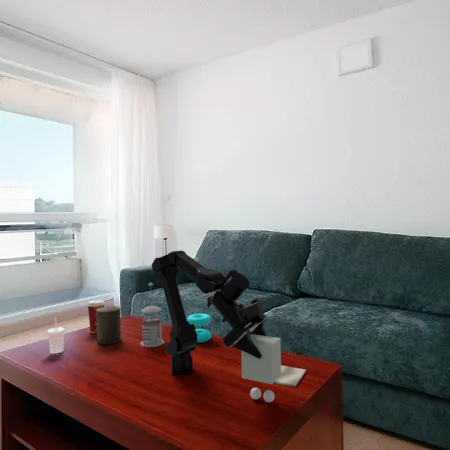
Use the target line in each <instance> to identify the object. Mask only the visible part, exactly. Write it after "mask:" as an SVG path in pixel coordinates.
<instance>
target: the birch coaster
mask: <svg viewBox="0 0 450 450" xmlns="http://www.w3.org/2000/svg"><path fill="white" fill-rule="evenodd" d="M306 371H307V369H305V368H304V369H303V368H298V367H292V366H289V365H288V366H287V365H282V364H281V374H280V375H279V377H278V378H277V379H276V380H275V382H274V383H273V384H277V385H283V386H288V387H292V388H296V387H297V386H298V385H299V383H300V381H301V380H302V378H303V376H304V375H305V374H306Z"/></svg>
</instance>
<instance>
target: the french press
mask: <svg viewBox="0 0 450 450" xmlns="http://www.w3.org/2000/svg"><path fill="white" fill-rule="evenodd" d="M147 286H148V287H149V288H150V289H149V290H150V291H152V286H154V284H153V282H149V283H148V285H147ZM161 310H162V308H161V307H160V306H155V305H150V306H149V305H148V306H145V307H144V308H143V309H141V313H142V314H146V315H148V314H150V317H146V318H143V320H142V321H143V323H141V330H142V331H141V332H142V334H141V335H142V336H141V338H142V341H141V342H140V343H139V345H140V344H141V345H142V346H141V345H140V346H141V347H143V346H145V348H155V347H156V348H157V347H159V346H162V345H163V344H164V343H165V341H164V340H163V338H162V336H163V335H162V332H163V331H164V330H165V325H166V323H165V318H164V317H163V315H162V314H161V313H160V314H159V315H158V314H157V315H156V316H155V317H152V316H153V314H156V313H159V312H161ZM161 318H162V319H163V323H162V319H161ZM162 324H163V325H162ZM162 326H163V328H162Z"/></svg>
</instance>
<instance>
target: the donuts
mask: <svg viewBox="0 0 450 450" xmlns="http://www.w3.org/2000/svg"><path fill="white" fill-rule="evenodd" d="M186 319H187V321H188V322H189V323H190V324H194V326H195V327H203V326H207V325H209V323H211V321H212V318H211V315H209V314H207V313H193V314H191V315H188V317H187V318H186ZM195 330H196V333H197V335H198V336H197V343H199V344H200V343H205V342H208V341H210V340H211V338H212V333H211V331H209V330H208V329H205V328H197V329H196V328H195ZM197 343H196V344H197Z"/></svg>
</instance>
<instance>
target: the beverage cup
mask: <svg viewBox="0 0 450 450" xmlns="http://www.w3.org/2000/svg"><path fill="white" fill-rule="evenodd" d="M54 318H55V319H54V324H55V326H54V327H53V328H49V329H48V330H47V336H48V345H49V353H59V352H62V351H63V352H64V341H65V340H64V339H65V331H66V330H65V327H60V326H59V327H58V325H57V316H54Z"/></svg>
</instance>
